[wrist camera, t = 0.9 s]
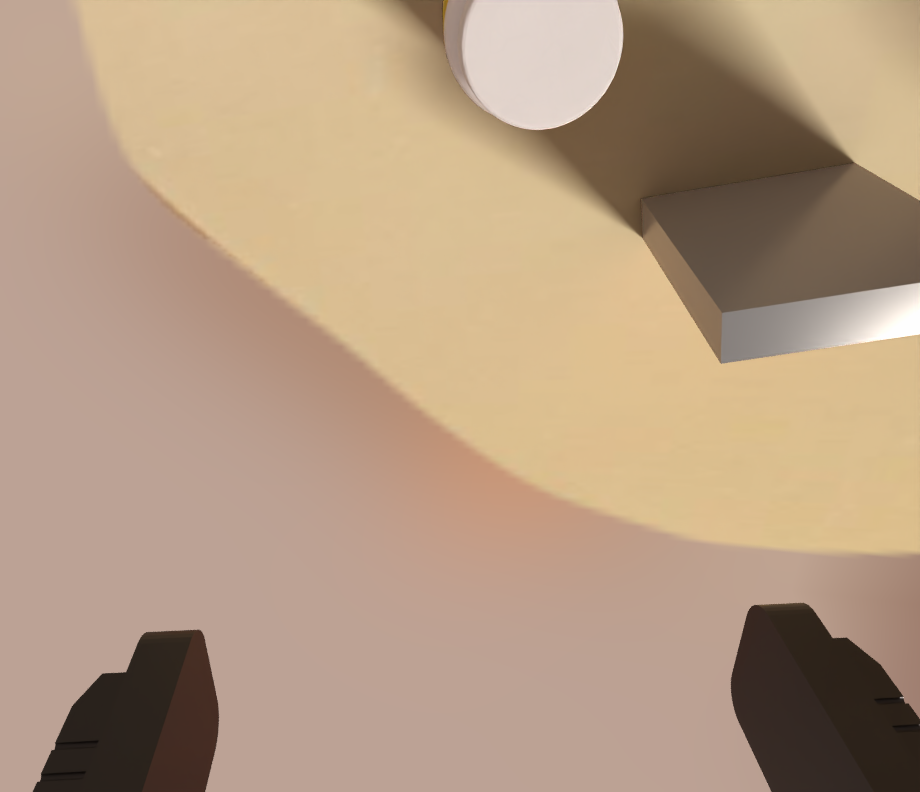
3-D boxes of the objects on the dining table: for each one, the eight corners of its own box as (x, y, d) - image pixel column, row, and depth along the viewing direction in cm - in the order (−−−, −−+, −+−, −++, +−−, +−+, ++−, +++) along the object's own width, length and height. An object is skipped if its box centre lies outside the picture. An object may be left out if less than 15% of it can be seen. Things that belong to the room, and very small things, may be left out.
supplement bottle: (418, 39, 26) (407, 85, 18) (487, -105, 23) (506, -118, 16) (537, 110, 27) (570, 178, 20) (613, -21, 25) (680, 3, 18)
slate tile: (640, 198, 29) (722, 313, 20) (854, 162, 28) (1030, 265, 20) (642, 241, 30) (720, 368, 21) (849, 207, 29) (1015, 324, 21)
